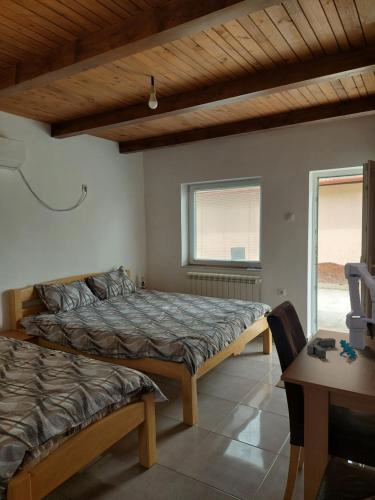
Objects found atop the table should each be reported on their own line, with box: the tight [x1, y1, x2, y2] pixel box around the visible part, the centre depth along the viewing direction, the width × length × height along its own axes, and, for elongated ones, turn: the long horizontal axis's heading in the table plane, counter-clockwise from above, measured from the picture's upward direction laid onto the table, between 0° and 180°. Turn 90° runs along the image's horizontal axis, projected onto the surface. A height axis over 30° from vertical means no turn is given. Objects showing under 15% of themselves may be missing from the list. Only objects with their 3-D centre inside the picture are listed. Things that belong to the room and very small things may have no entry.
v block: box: [306, 336, 337, 360], centre depth 179 cm, size 23×9×4 cm, turn 144°
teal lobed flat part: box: [339, 339, 358, 359], centre depth 172 cm, size 11×6×10 cm
